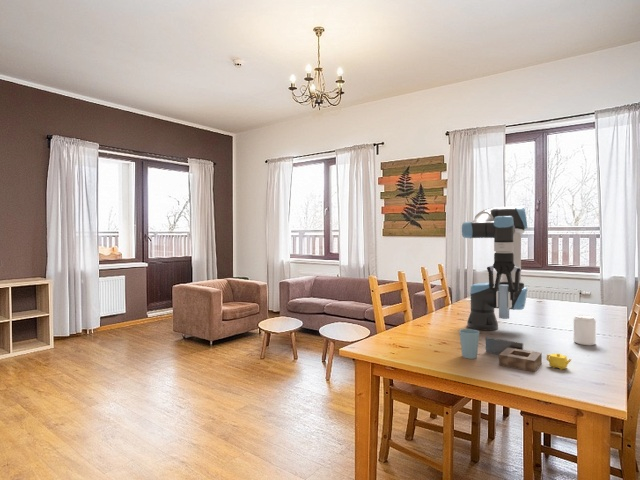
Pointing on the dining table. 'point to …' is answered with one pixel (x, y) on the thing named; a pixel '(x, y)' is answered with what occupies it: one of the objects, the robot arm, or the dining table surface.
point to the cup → (469, 343)
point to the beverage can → (584, 330)
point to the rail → (500, 345)
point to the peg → (503, 301)
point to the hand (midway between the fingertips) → (504, 306)
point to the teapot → (558, 361)
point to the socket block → (520, 359)
